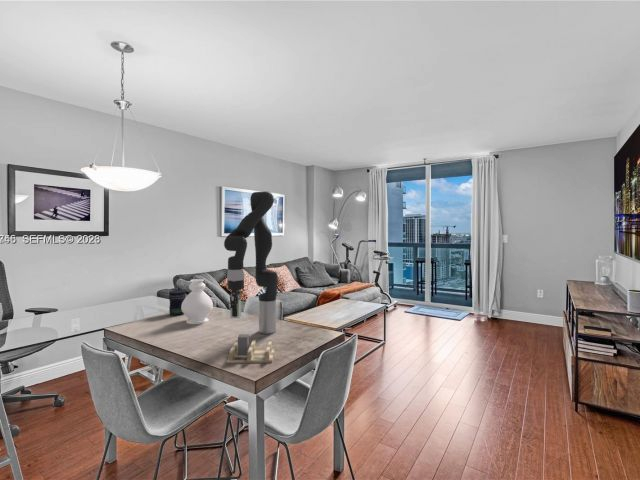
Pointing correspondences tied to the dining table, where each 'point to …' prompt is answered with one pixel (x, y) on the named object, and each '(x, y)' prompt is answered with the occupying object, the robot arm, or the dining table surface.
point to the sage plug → (237, 310)
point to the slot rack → (252, 354)
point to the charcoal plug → (243, 344)
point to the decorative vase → (197, 303)
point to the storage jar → (176, 302)
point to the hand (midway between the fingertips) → (235, 315)
